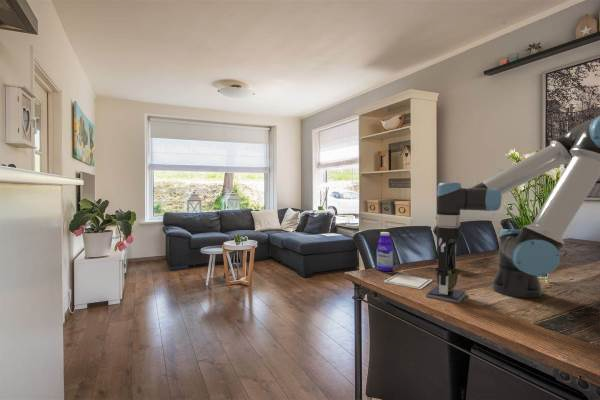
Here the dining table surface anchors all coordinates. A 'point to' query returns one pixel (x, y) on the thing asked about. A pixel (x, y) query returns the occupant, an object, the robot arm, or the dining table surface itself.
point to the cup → (449, 278)
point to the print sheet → (408, 281)
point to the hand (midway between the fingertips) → (446, 291)
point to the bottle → (385, 253)
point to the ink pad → (453, 296)
